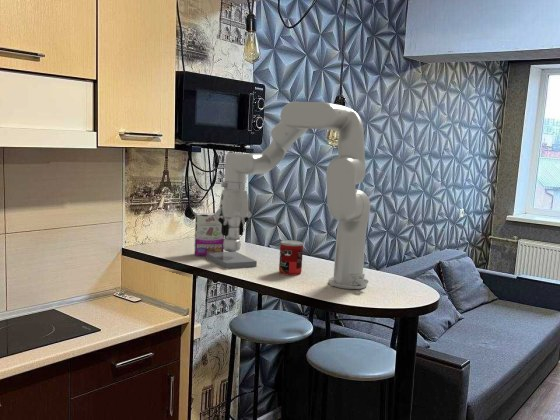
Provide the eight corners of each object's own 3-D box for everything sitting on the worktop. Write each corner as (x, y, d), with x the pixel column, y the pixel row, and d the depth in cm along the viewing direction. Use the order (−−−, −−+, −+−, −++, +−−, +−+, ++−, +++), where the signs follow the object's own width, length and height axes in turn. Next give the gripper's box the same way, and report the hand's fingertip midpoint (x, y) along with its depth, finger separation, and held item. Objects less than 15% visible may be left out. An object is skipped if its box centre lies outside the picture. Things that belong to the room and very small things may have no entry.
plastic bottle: (219, 250, 203) (220, 197, 200) (233, 249, 207) (235, 197, 205) (229, 254, 198) (231, 199, 196) (244, 252, 203) (246, 199, 200)
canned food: (275, 270, 194) (277, 240, 193) (296, 269, 197) (298, 240, 196) (283, 275, 187) (284, 244, 186) (304, 275, 190) (306, 244, 189)
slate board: (256, 266, 199) (256, 261, 199) (226, 268, 193) (226, 263, 192) (234, 256, 214) (234, 251, 214) (206, 258, 208) (206, 252, 208)
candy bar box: (221, 253, 217) (223, 213, 215) (223, 256, 213) (225, 214, 210) (193, 253, 215) (195, 212, 213) (194, 256, 210) (196, 214, 208)
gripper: (217, 187, 192) (215, 237, 194) (260, 187, 201) (257, 235, 203) (208, 185, 198) (206, 234, 201) (250, 185, 207) (248, 232, 210)
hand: (232, 234), depth 202 cm, fingers closed on plastic bottle, 5 cm apart
